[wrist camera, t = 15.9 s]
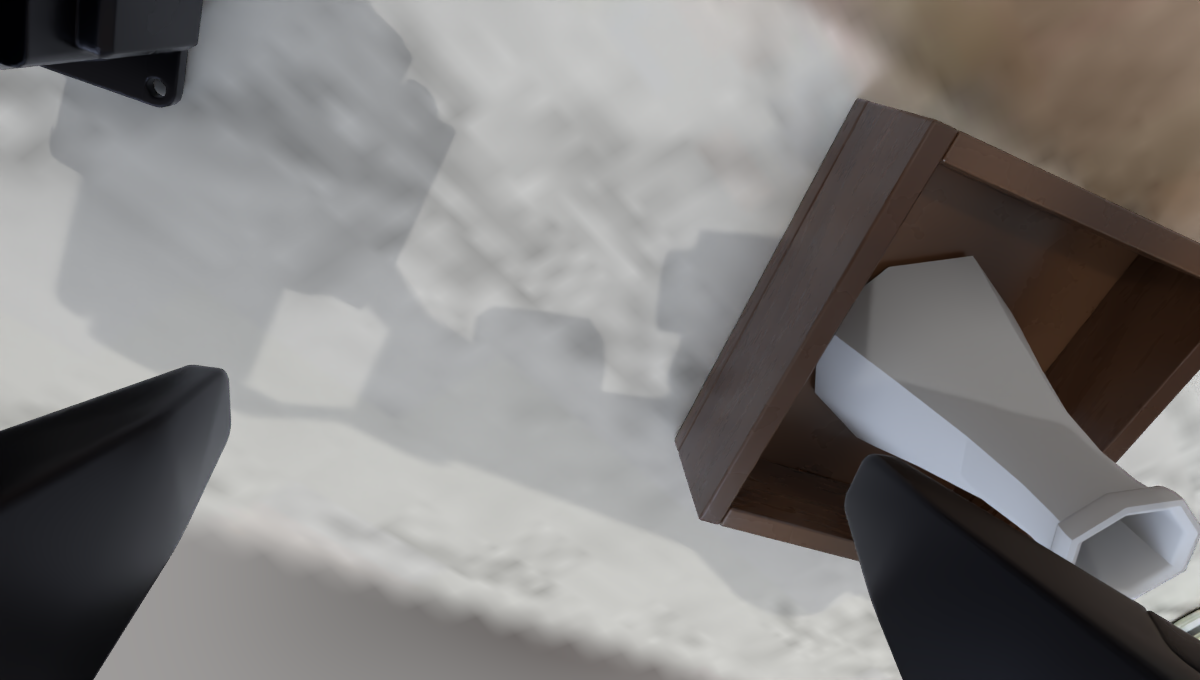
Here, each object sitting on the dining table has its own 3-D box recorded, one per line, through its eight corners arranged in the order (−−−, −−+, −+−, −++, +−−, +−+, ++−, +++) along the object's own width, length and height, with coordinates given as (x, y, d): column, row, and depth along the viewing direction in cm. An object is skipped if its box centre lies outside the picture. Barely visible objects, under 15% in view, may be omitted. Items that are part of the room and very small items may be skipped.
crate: (673, 440, 25) (698, 520, 21) (856, 97, 20) (935, 118, 16) (931, 514, 28) (995, 597, 24) (1151, 233, 23) (1280, 280, 19)
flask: (990, 217, 21) (1313, 366, 12) (1018, 385, 24) (1290, 599, 16) (783, 308, 22) (945, 507, 13) (836, 458, 25) (996, 699, 16)
